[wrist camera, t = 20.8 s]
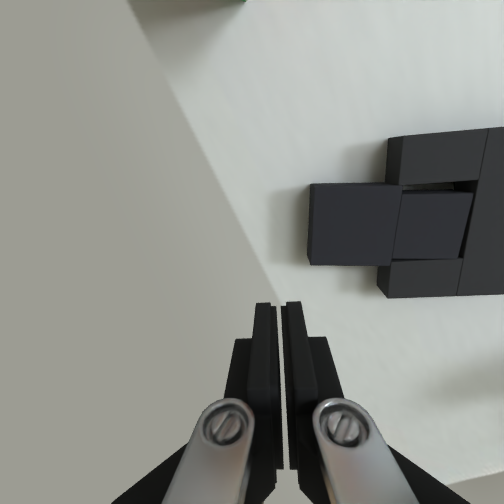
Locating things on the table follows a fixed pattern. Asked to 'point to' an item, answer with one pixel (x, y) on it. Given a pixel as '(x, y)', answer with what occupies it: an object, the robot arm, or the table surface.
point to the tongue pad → (383, 223)
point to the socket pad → (479, 218)
